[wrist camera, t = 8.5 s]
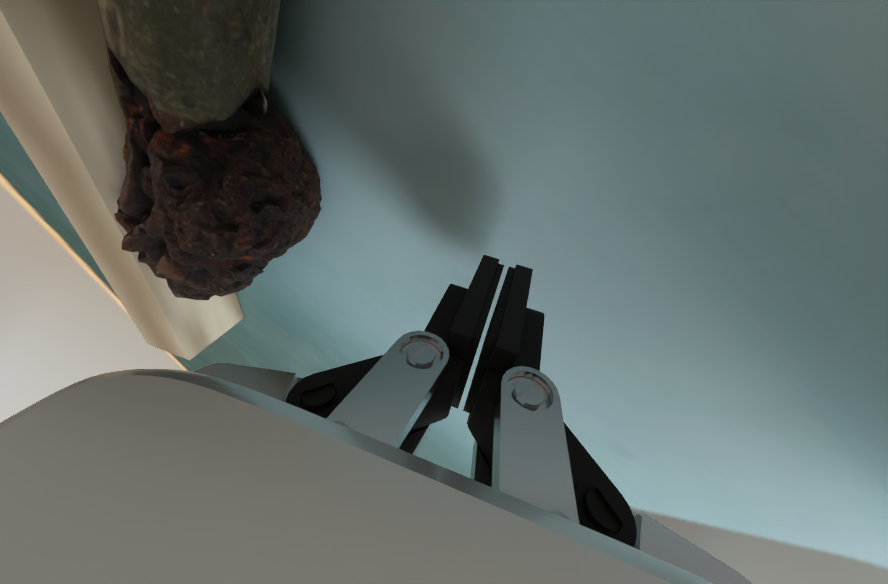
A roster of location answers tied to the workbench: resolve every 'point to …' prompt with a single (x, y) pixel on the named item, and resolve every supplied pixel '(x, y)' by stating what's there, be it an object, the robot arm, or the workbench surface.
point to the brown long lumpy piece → (205, 142)
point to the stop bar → (91, 158)
